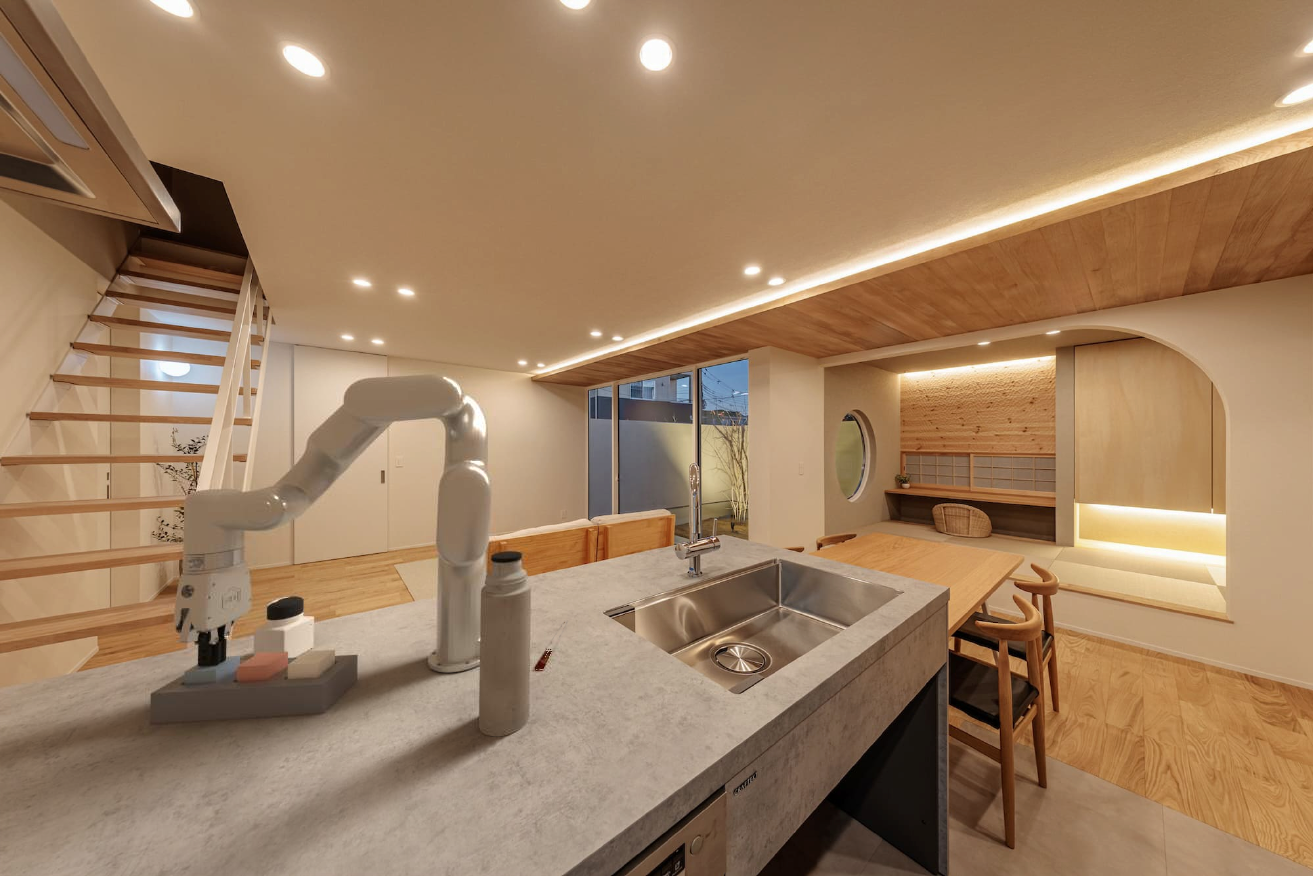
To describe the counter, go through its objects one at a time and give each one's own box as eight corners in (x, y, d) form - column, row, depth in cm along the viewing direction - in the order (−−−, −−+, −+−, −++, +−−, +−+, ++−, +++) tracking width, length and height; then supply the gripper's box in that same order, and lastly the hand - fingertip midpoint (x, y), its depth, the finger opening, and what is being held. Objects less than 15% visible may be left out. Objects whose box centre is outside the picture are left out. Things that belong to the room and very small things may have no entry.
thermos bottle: (500, 701, 76) (503, 545, 76) (538, 711, 74) (540, 550, 74) (467, 729, 69) (470, 557, 69) (508, 741, 66) (511, 562, 66)
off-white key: (334, 668, 79) (334, 649, 79) (317, 683, 75) (317, 663, 75) (306, 670, 79) (306, 651, 79) (287, 684, 74) (287, 664, 74)
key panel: (357, 680, 82) (357, 654, 82) (323, 713, 72) (323, 684, 72) (207, 688, 79) (207, 661, 79) (150, 724, 69) (150, 693, 69)
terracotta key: (287, 670, 78) (288, 651, 78) (267, 685, 74) (267, 665, 74) (259, 671, 78) (259, 652, 78) (236, 687, 73) (236, 666, 73)
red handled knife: (568, 622, 111) (568, 618, 111) (543, 672, 87) (543, 668, 87) (561, 622, 111) (561, 618, 111) (533, 672, 87) (533, 668, 87)
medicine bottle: (314, 648, 95) (315, 594, 95) (283, 664, 88) (284, 606, 88) (285, 646, 96) (286, 592, 96) (252, 662, 88) (253, 604, 89)
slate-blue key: (239, 675, 77) (240, 656, 77) (215, 690, 73) (216, 670, 73) (210, 676, 77) (210, 657, 77) (184, 692, 72) (184, 671, 72)
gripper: (198, 572, 68) (195, 687, 68) (271, 548, 83) (268, 642, 83) (144, 573, 67) (141, 689, 67) (228, 549, 82) (225, 644, 82)
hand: (212, 663), depth 75 cm, fingers closed
